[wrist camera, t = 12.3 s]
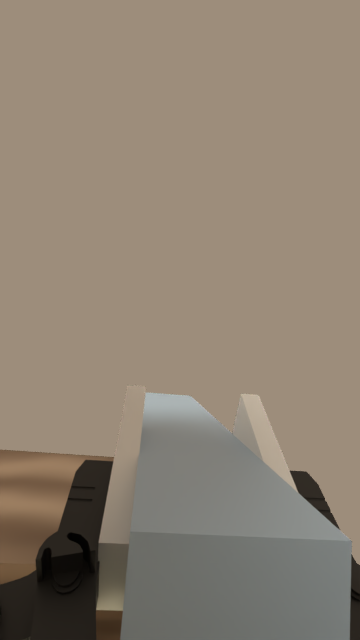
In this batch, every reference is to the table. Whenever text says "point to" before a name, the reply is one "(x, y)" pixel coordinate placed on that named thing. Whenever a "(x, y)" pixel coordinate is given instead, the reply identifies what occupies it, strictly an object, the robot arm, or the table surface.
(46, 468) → the shelf
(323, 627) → the rod
